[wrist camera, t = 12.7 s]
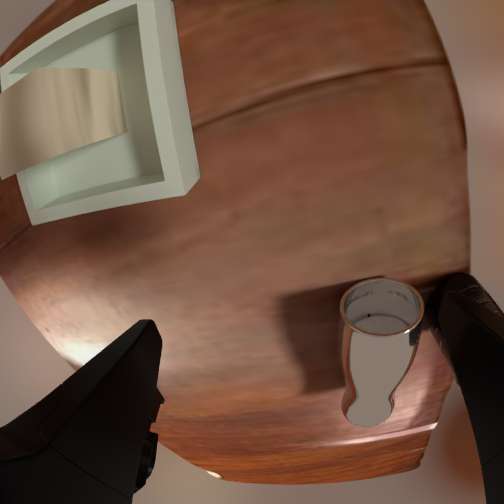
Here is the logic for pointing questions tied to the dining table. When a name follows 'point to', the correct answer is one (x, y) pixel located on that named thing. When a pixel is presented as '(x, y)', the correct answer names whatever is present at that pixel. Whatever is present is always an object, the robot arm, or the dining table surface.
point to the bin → (135, 110)
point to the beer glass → (377, 345)
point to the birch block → (57, 114)
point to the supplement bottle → (455, 283)
